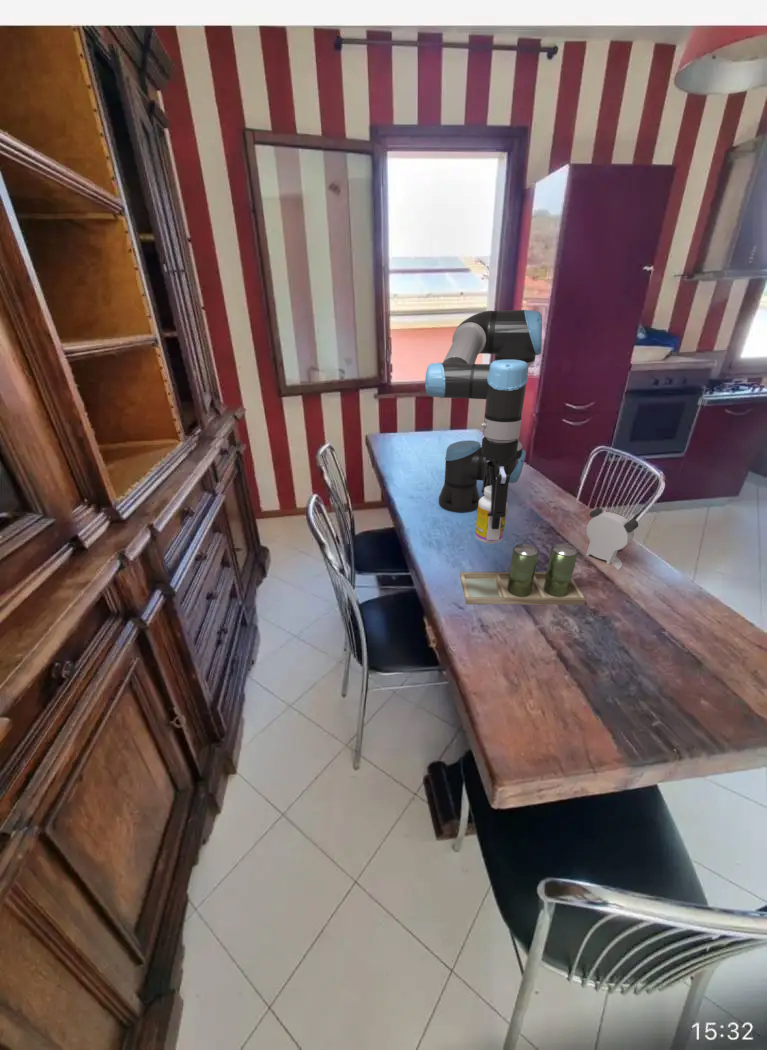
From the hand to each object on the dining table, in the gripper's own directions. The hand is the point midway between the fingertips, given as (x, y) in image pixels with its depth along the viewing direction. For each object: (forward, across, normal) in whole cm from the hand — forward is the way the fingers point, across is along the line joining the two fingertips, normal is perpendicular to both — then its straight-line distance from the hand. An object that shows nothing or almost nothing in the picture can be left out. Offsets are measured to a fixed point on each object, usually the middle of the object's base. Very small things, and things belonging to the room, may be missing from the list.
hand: (489, 531), depth 100 cm
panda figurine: (+19, -15, +37) cm, 44 cm away
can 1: (+18, 0, +9) cm, 20 cm away
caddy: (+19, 0, +9) cm, 21 cm away
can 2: (+17, 0, +19) cm, 26 cm away
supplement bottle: (+2, 0, 0) cm, 2 cm away
